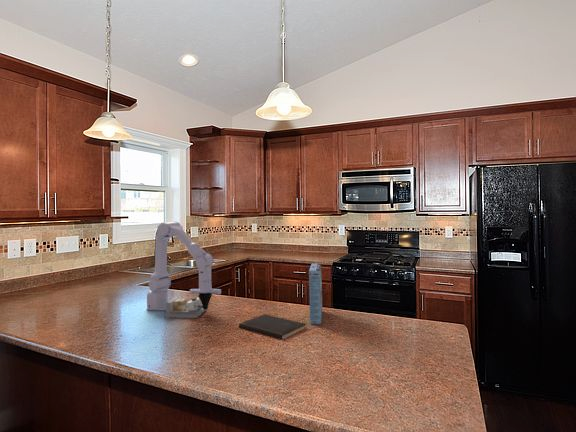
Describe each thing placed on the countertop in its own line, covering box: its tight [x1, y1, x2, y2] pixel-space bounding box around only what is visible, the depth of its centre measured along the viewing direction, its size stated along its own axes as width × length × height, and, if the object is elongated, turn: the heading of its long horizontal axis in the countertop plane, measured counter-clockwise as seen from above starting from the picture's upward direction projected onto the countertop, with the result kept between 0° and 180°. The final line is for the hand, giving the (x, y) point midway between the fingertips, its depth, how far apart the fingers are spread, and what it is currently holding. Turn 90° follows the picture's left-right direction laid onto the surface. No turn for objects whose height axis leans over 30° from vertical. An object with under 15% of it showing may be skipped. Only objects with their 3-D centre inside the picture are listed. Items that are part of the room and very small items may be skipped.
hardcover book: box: [238, 313, 307, 341], centre depth 144 cm, size 16×23×2 cm
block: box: [174, 298, 188, 311], centre depth 165 cm, size 4×5×5 cm
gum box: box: [308, 263, 323, 325], centre depth 156 cm, size 20×5×23 cm, turn 172°
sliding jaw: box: [187, 296, 202, 311], centre depth 164 cm, size 3×9×6 cm, turn 174°
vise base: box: [164, 296, 206, 319], centre depth 165 cm, size 15×12×6 cm
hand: (205, 309), depth 164 cm, fingers closed
